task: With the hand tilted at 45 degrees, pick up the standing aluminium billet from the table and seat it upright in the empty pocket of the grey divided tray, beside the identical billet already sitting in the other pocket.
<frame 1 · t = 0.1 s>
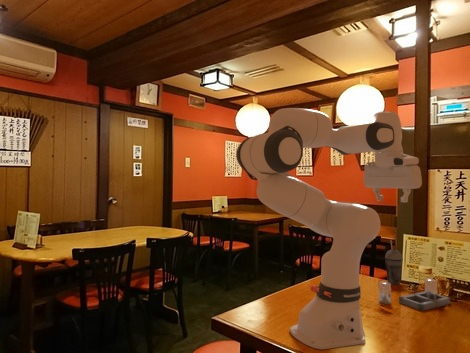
hand: (391, 201, 115), 39 cm above the table, tool pointing down, fingers open, 8 cm apart
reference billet: (430, 301, 127), point 1 cm above the table, touching grey divided tray
billet: (384, 304, 126), on the table
beverage cup: (393, 285, 150), on the table
grey divided tray: (424, 305, 125), on the table
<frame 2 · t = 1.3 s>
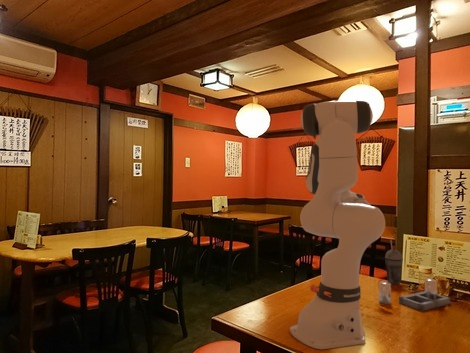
hand: (362, 227, 137), 27 cm above the table, tool tilted 45°, fingers open, 8 cm apart
nothing on the table moved.
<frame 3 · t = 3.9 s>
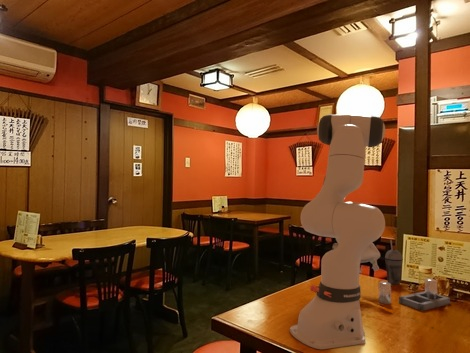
hand: (368, 271, 133), 11 cm above the table, tool tilted 45°, fingers open, 8 cm apart
nothing on the table moved.
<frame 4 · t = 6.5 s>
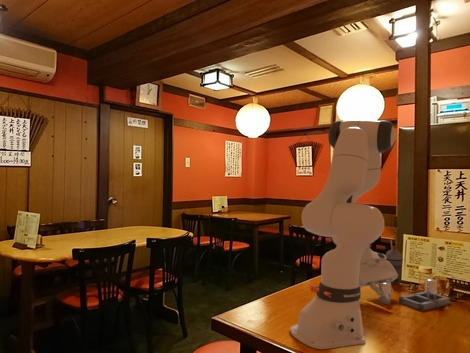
hand: (386, 293, 125), 4 cm above the table, tool tilted 45°, fingers closed on billet, 4 cm apart
billet: (384, 304, 126), on the table, touching gripper
everything else where it was.
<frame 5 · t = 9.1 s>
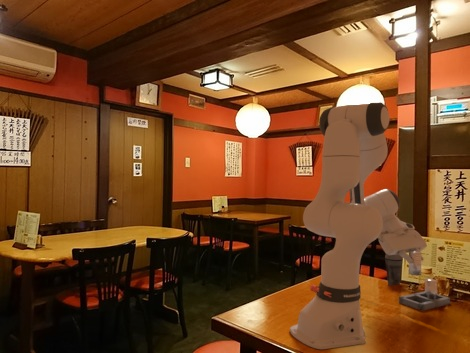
hand: (416, 261, 124), 17 cm above the table, tool tilted 45°, fingers closed on billet, 4 cm apart
billet: (414, 273, 124), point 12 cm above the table, touching gripper
everything else where it was.
when the fingers open (7 cm above the table, at t = 11.9 s): billet drops 1 cm, resting on grey divided tray.
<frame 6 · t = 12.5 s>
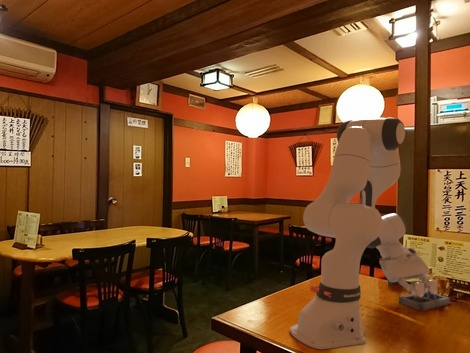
hand: (419, 288, 123), 7 cm above the table, tool tilted 45°, fingers open, 8 cm apart
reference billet: (430, 301, 127), point 1 cm above the table, touching gripper, grey divided tray
billet: (417, 304, 124), point 1 cm above the table, touching grey divided tray
everything else where it was.
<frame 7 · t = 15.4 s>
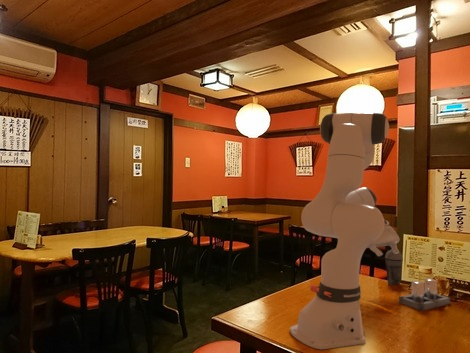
hand: (388, 254, 135), 17 cm above the table, tool tilted 45°, fingers open, 8 cm apart
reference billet: (430, 301, 127), point 1 cm above the table, touching grey divided tray
everything else where it was.
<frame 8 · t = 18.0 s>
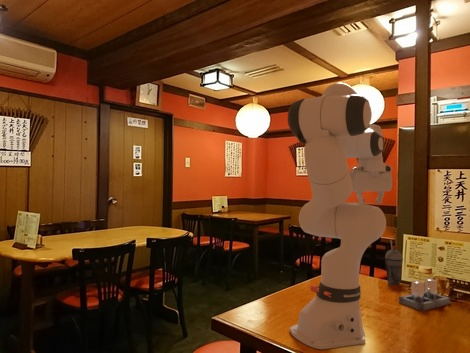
hand: (370, 203, 131), 37 cm above the table, tool pointing down, fingers open, 8 cm apart
nothing on the table moved.
at the end: billet 0.0 cm from the target spot on the grey divided tray, point 1.0 cm above the grey divided tray's base; billet tilted 1°; the gripper is holding nothing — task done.
